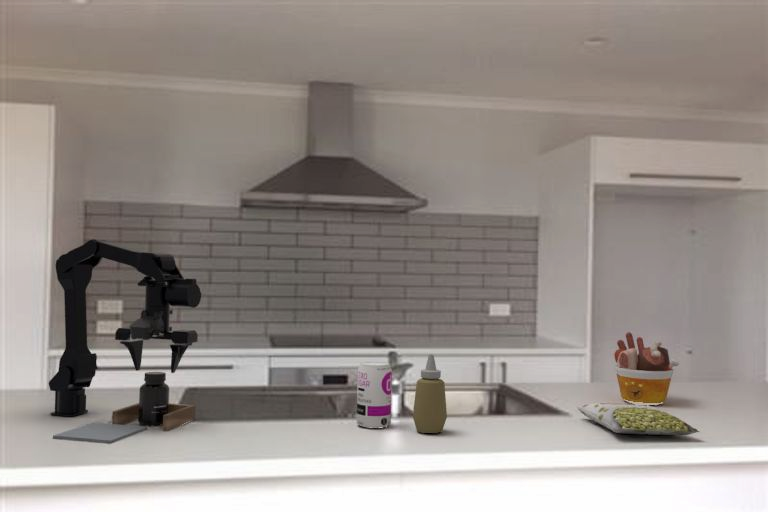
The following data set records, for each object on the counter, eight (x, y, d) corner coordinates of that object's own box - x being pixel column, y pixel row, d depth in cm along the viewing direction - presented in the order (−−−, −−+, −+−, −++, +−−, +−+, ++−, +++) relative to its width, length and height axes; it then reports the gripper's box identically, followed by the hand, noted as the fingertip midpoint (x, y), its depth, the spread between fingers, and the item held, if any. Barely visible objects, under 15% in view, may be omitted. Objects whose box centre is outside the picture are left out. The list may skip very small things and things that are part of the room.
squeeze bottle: (450, 430, 174) (452, 354, 175) (441, 437, 167) (443, 357, 167) (417, 426, 177) (419, 352, 177) (407, 433, 169) (409, 355, 170)
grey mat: (52, 438, 158) (52, 435, 158) (93, 425, 171) (93, 422, 171) (110, 443, 154) (110, 440, 154) (147, 429, 168) (147, 426, 168)
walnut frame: (112, 426, 170) (112, 411, 170) (143, 415, 183) (143, 401, 183) (167, 431, 167) (167, 415, 167) (195, 419, 179) (195, 405, 179)
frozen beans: (614, 415, 166) (574, 395, 191) (612, 441, 166) (573, 418, 191) (701, 419, 168) (651, 399, 193) (700, 444, 168) (649, 421, 193)
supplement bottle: (159, 427, 170) (160, 375, 170) (132, 425, 172) (133, 374, 172) (173, 421, 177) (175, 371, 177) (147, 419, 178) (149, 370, 178)
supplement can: (395, 424, 179) (397, 362, 179) (381, 431, 172) (383, 366, 172) (366, 420, 183) (367, 360, 183) (350, 427, 175) (352, 364, 175)
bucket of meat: (687, 408, 209) (688, 338, 209) (632, 408, 206) (633, 338, 207) (651, 396, 229) (652, 332, 229) (601, 396, 226) (602, 331, 227)
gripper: (102, 305, 169) (100, 373, 169) (176, 309, 165) (174, 379, 165) (129, 303, 180) (127, 367, 180) (199, 306, 176) (197, 372, 176)
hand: (155, 371), depth 175 cm, fingers open, 9 cm apart
